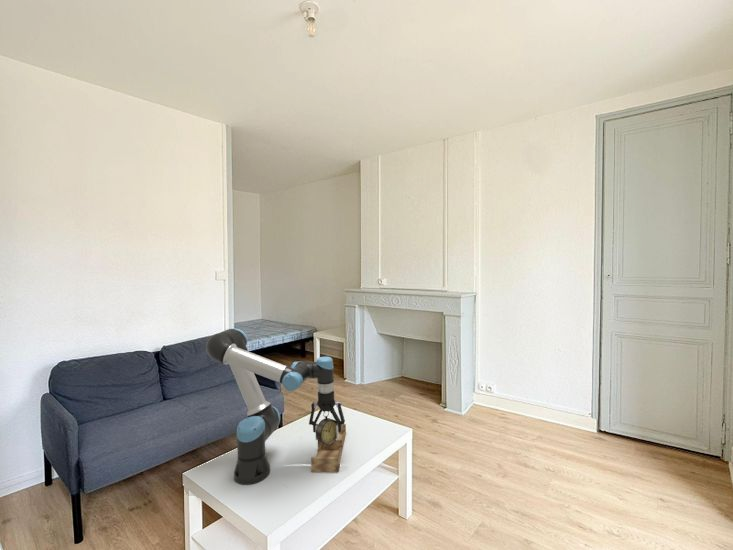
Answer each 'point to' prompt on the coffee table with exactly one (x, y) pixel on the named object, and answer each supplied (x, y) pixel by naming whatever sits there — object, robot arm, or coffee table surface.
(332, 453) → the wooden rack
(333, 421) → the alarm clock
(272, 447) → the coffee table surface
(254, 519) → the coffee table surface
